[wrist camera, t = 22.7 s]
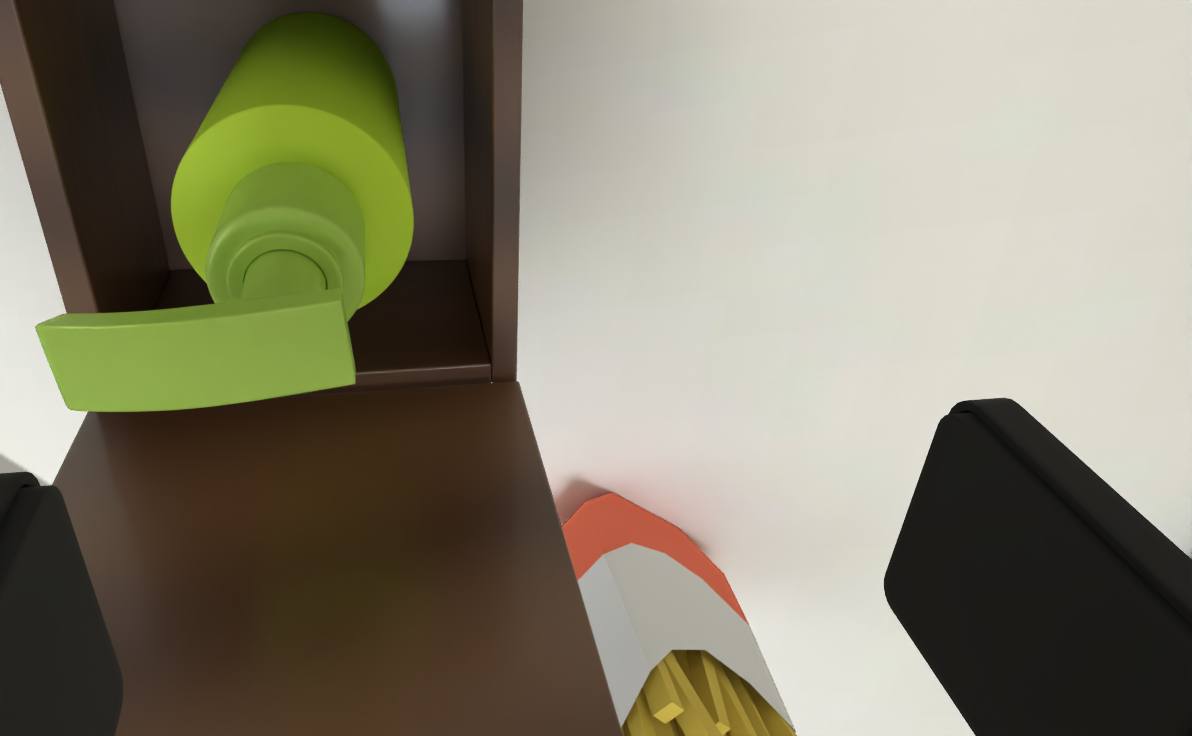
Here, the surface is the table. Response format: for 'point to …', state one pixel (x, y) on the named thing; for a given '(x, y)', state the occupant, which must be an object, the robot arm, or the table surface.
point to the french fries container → (668, 628)
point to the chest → (179, 106)
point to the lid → (336, 568)
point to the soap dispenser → (264, 234)
